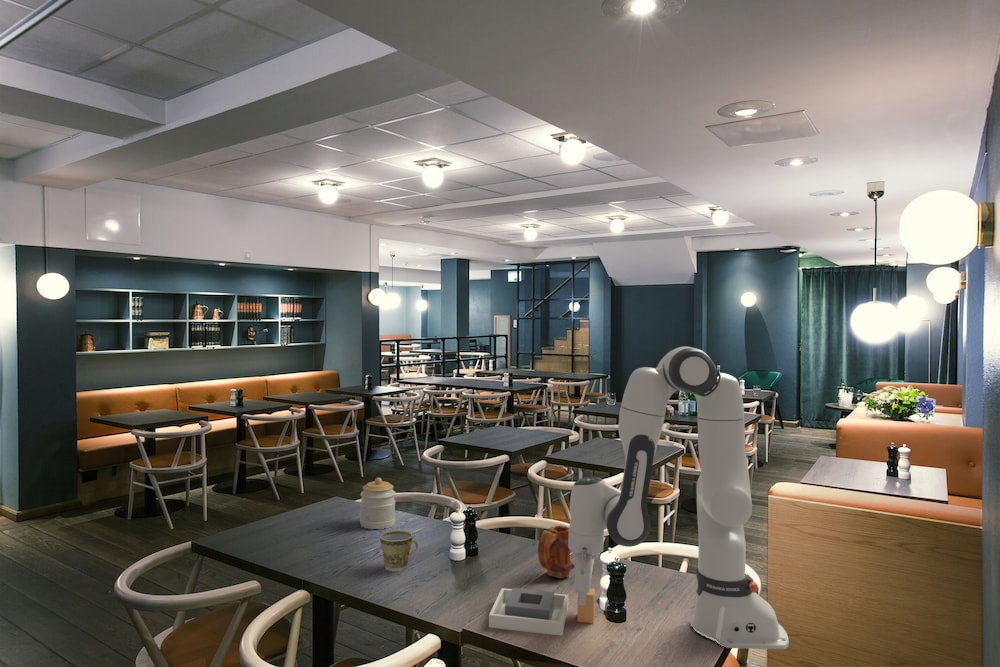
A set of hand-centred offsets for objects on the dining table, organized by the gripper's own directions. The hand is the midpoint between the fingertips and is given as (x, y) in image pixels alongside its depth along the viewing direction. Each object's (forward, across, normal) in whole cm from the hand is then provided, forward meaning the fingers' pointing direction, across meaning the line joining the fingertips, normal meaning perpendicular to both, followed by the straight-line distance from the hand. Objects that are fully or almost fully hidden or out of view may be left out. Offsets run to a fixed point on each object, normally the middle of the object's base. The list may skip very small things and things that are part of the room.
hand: (583, 596), depth 156 cm
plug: (+7, 0, -1) cm, 7 cm away
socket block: (+6, -2, +13) cm, 15 cm away
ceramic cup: (+8, +22, +57) cm, 62 cm away
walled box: (+7, -2, +13) cm, 15 cm away
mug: (+7, +26, +10) cm, 29 cm away
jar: (+9, +60, +80) cm, 101 cm away
